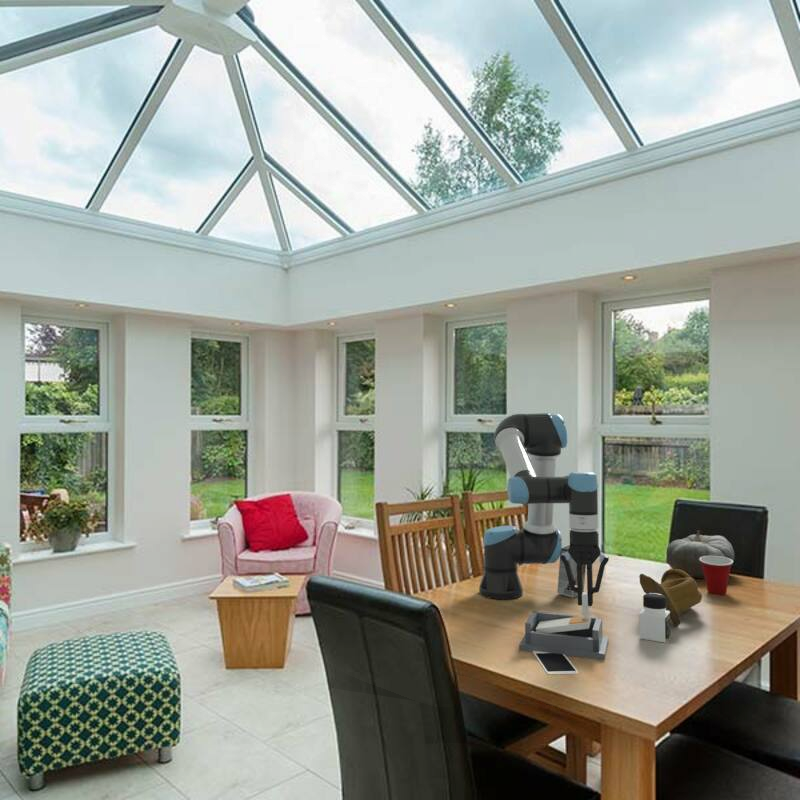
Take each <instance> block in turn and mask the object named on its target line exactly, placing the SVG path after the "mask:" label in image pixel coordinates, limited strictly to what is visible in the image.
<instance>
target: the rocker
mask: <svg viewBox="0 0 800 800" xmlns="http://www.w3.org/2000/svg"><path fill="white" fill-rule="evenodd" d="M590 616H591V615H590V614H589V618H588V619H582V615H581V616H578V617H571V618H565V619H556V620H548V621H540V622H539V624H538V626H537V627H536V632H542V633H555V632H563V631H572V630H581V629H589V627H590V623H591V618H590Z"/></svg>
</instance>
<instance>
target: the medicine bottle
mask: <svg viewBox="0 0 800 800" xmlns="http://www.w3.org/2000/svg"><path fill="white" fill-rule="evenodd" d="M642 600H643V602H642V603H643V607H642V608H643V609H642V610H641V611H640V612H639V614H638V622H639V623H638V624H639V625H638V626H639V627H638V630H639V632H638V633H639V634H638V635H639V639H640V640H647V641H652V642H653V641H654V642H657V643H664V644H665V643H667V642H668V641H669V639H670V637H671V635H672V633H671V630H672V629H671V618H670V611H667V610H666V597H665V596H663V595H661V594H657V593H648V594H646V593H645V594H644V595H642Z"/></svg>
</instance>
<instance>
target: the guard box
mask: <svg viewBox="0 0 800 800" xmlns="http://www.w3.org/2000/svg"><path fill="white" fill-rule="evenodd" d="M578 616H582V614H581V615H580V614H579V615H578V614H570V613H569V614H568V613H558V612H548V611H537V610H532V611H531V613H530V615H529V616H528V618H527V619H526V621H525V622H524V629H525V630H524V632H525V633H524V636H523V637H522V639H521V641H520V642H519V644H518V650H519V651H524V652H533V651H539V652H548V653H556V654H565V655H566V657H577V658H585V659H593V660H600V659H601V660H602V661H605V660H606V655H607V651H608V647H609V636H603V617H600V616H591V615H590V618H591V623H590V627H589V629H581V630H572V631H563V632H555V633H542V632H536V627H537V626H538V624H539V622H540V621H548V620H556V619H565V618H571V617H578Z"/></svg>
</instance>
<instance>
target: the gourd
mask: <svg viewBox="0 0 800 800" xmlns="http://www.w3.org/2000/svg"><path fill="white" fill-rule="evenodd" d="M703 556H722V557H726V558H729V559H732V560H733V562H734V560H735V551H734V548H733V545H732V543H731V542H729V540H728V539H727V538H726V537H725V536H723V535H702V534H701V530H697V531H696V534H690V535H688V536H686V537H684V538H682V539H675V540H672V542H670V543H669V545H668V546H667V547H666V561H667V564H668V566H669V567H671V569H679V570H682V571H684V572H686V573H687V574H689V575H690V576H691V577H692V578H697V579H705V577H704V572H703V567H702V564H701V561H700V560H699V559H700V557H703Z"/></svg>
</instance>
